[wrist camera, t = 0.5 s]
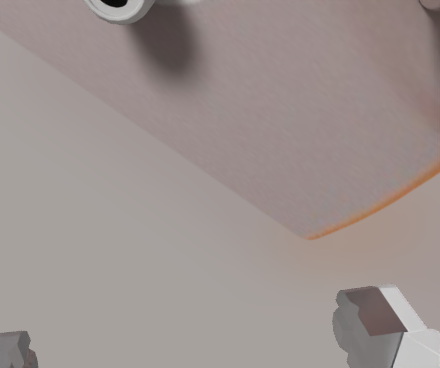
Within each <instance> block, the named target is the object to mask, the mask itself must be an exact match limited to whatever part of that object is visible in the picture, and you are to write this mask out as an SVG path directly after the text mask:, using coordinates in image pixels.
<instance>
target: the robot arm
mask: <svg viewBox="0 0 440 368" xmlns="http://www.w3.org/2000/svg"><path fill="white" fill-rule="evenodd" d="M336 302H337V304H338V306H339V307H338V309H337V310H336V311H335V312H334V314H333V330H334V334H335V337H336V340H337V342H338V344H339V346H340V347H341V348H342V349H343V350H345V351H346V352H348V353H349V354H348V358H347V363H348V365H349V367H350V368H440V332H438V331H437V330H435V329H428V328H427V327H426V326H425V324H424V323H423V322H422V320H421V319H420V318H419V316H418V315H417V314H416V312H415V311H414V310H413V308H412V307H411V306H410V304H409V303H408V302H407V300H406V299H405V298H404V297H403V295H402V294H401V292H400V291H399V290H398V288H397V287H396V286H395V285H393V284H385V285H377V286H368V287H361V288H354V289H347V290H340V291H339V292H338V294H337V298H336ZM29 344H30V337H29V335H28V333H27V331H16V332H6V333H0V368H38V361H37V357H36V354H35V352H34V351H32V350H30V349H29Z"/></svg>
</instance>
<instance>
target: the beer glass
mask: <svg viewBox="0 0 440 368" xmlns="http://www.w3.org/2000/svg"><path fill="white" fill-rule="evenodd" d="M419 1H420V2H421V4H422V5H423V6H424V7H425V8H426V9H428V10H431V11H435V12H440V0H419Z"/></svg>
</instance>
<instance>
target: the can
mask: <svg viewBox="0 0 440 368" xmlns="http://www.w3.org/2000/svg"><path fill="white" fill-rule="evenodd" d="M83 1H84V2H85V4H86V5H87V7H88V8H89V10H90V11H92V12H93V13H94V14H95V15H96V16H97V17H99V18H100V19H102V20H105V21H107V22H109V23H111V24H119V25H125V24H130V23H134V22H136V21H137V20H139V19H141V18H142V17H144V16H145V14H146V13H147V12H148V10H149V9H150V8H151V7H152V5H153V4H154V2H155V1H156V0H83Z"/></svg>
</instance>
